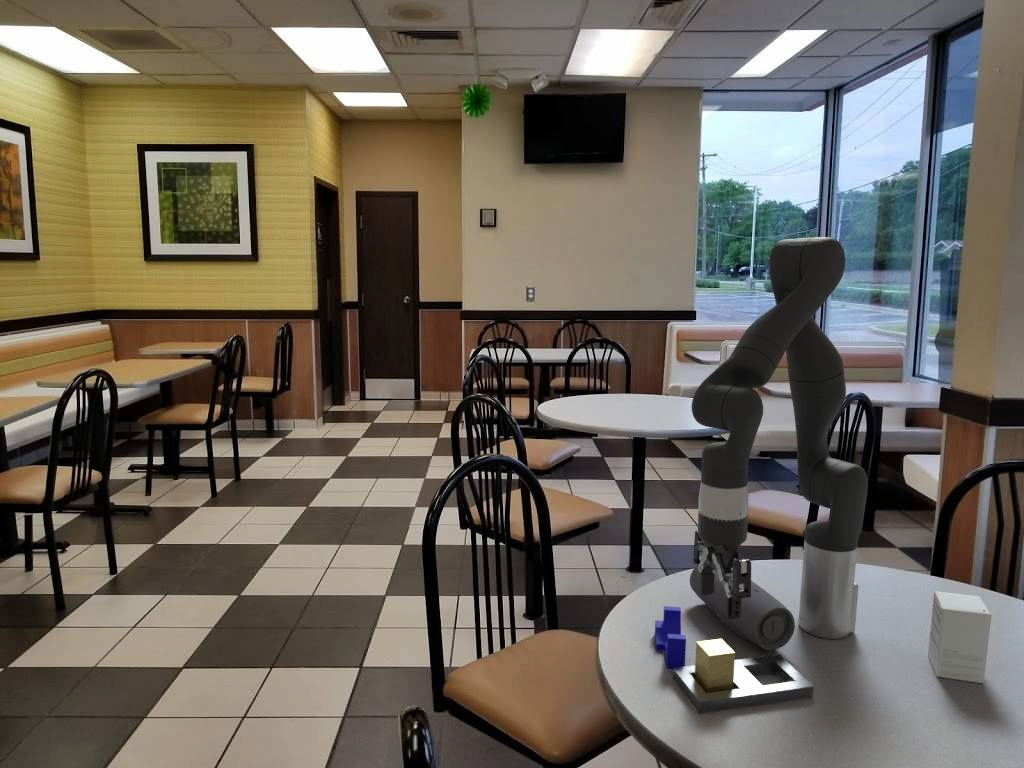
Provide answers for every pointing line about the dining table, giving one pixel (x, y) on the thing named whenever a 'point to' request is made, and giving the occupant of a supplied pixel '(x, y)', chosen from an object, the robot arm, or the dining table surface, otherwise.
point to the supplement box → (959, 636)
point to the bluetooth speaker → (751, 613)
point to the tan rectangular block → (714, 666)
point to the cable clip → (671, 637)
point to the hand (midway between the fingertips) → (719, 605)
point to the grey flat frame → (746, 685)
